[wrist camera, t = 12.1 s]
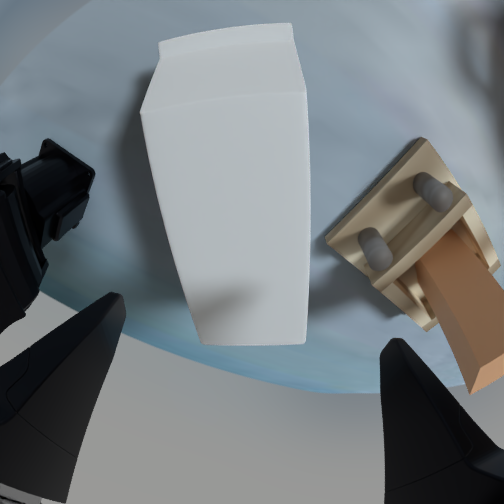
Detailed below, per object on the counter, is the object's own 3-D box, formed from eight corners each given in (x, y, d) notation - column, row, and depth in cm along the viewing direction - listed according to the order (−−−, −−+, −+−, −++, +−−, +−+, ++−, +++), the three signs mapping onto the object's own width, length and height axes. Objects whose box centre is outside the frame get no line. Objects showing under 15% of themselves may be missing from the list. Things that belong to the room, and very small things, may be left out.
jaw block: (412, 247, 20) (480, 367, 10) (451, 229, 18) (531, 333, 8) (417, 283, 22) (469, 395, 12) (454, 265, 20) (516, 366, 10)
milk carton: (305, 345, 17) (297, 4, 7) (201, 346, 18) (128, 33, 8) (299, 279, 23) (287, 35, 13) (217, 282, 24) (178, 49, 14)
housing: (324, 236, 21) (333, 267, 18) (421, 136, 16) (450, 150, 12) (412, 311, 25) (424, 339, 22) (486, 243, 20) (507, 266, 16)
